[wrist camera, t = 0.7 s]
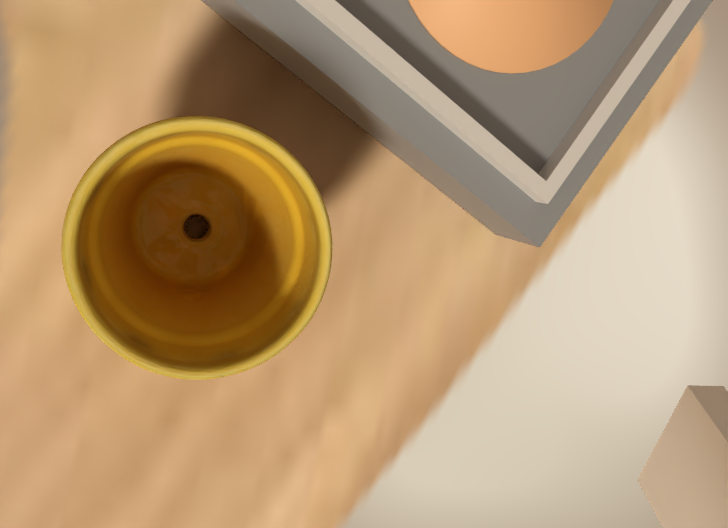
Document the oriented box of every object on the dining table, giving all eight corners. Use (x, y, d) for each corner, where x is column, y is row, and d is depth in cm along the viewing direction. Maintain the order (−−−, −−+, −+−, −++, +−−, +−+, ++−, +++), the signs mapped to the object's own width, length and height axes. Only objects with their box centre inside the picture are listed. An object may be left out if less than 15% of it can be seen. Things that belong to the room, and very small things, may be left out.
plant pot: (326, 182, 37) (379, 196, 28) (238, 350, 38) (262, 420, 28) (145, 83, 34) (137, 62, 25) (50, 268, 34) (8, 317, 25)
